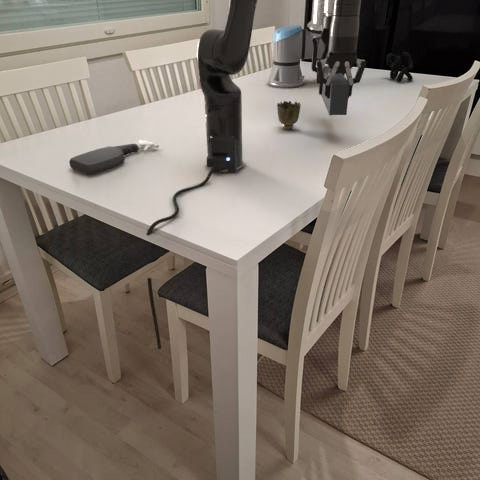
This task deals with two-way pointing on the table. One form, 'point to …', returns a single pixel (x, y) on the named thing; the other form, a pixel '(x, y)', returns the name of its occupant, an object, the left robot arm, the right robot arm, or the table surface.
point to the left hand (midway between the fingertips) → (337, 97)
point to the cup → (288, 114)
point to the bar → (336, 94)
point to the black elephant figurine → (399, 66)
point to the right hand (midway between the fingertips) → (328, 93)
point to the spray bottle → (106, 157)
